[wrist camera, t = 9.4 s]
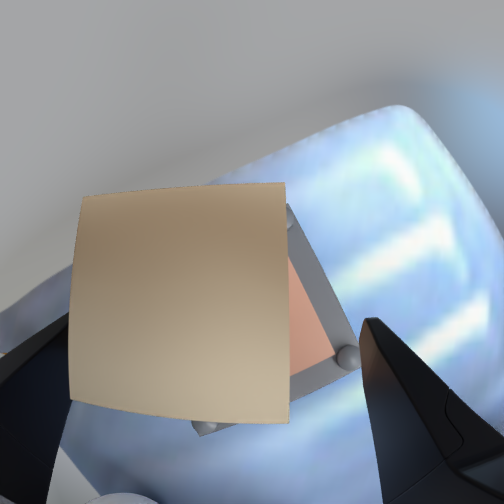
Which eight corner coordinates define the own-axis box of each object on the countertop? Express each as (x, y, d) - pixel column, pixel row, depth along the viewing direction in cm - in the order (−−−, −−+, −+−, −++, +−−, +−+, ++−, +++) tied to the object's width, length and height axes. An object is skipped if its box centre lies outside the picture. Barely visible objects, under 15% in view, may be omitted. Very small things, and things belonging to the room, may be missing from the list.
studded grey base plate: (357, 359, 21) (379, 367, 16) (207, 426, 20) (190, 449, 15) (286, 215, 24) (289, 187, 19) (145, 281, 23) (114, 269, 18)
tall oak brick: (279, 359, 16) (289, 423, 5) (200, 358, 17) (70, 399, 5) (278, 280, 17) (285, 182, 6) (201, 281, 18) (83, 196, 6)
